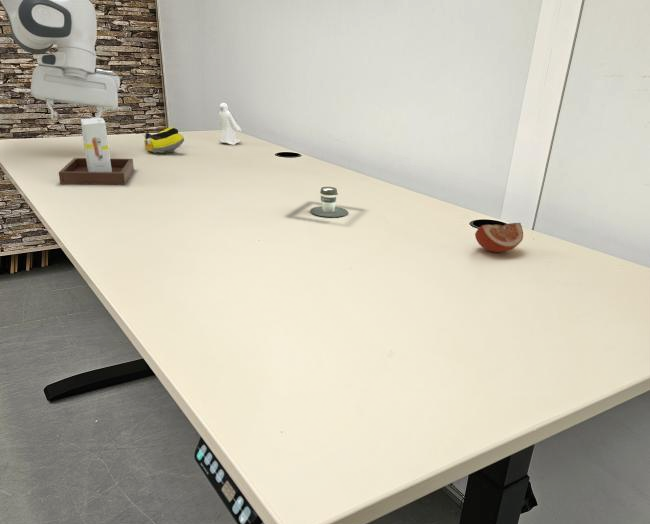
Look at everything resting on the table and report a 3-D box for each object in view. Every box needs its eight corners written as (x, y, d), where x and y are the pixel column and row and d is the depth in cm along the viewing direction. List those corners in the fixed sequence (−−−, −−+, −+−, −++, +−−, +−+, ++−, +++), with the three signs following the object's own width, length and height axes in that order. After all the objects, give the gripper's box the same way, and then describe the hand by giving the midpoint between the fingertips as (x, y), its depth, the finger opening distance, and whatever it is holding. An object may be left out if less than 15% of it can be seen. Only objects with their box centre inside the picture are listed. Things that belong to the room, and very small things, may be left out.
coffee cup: (364, 209, 123) (366, 185, 121) (346, 224, 113) (348, 198, 110) (310, 201, 126) (311, 178, 124) (288, 215, 116) (289, 190, 114)
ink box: (86, 170, 139) (79, 117, 134) (108, 169, 141) (102, 117, 136) (89, 178, 133) (82, 123, 127) (112, 177, 134) (106, 123, 129)
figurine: (212, 142, 182) (211, 101, 177) (231, 140, 188) (230, 100, 183) (230, 146, 179) (229, 104, 173) (248, 143, 184) (248, 102, 179)
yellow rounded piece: (178, 145, 176) (143, 145, 173) (177, 126, 173) (141, 126, 170) (185, 155, 163) (148, 156, 160) (184, 134, 161) (146, 135, 158)
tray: (60, 184, 129) (58, 172, 128) (75, 168, 143) (73, 157, 142) (125, 184, 131) (123, 173, 130) (133, 169, 145) (132, 158, 144)
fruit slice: (504, 243, 107) (509, 216, 105) (529, 255, 101) (535, 227, 99) (465, 247, 104) (470, 219, 102) (489, 260, 98) (494, 231, 96)
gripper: (121, 75, 154) (118, 130, 155) (34, 61, 148) (33, 118, 149) (119, 69, 148) (117, 126, 149) (29, 54, 142) (28, 114, 143)
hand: (74, 122), depth 149 cm, fingers open, 8 cm apart
